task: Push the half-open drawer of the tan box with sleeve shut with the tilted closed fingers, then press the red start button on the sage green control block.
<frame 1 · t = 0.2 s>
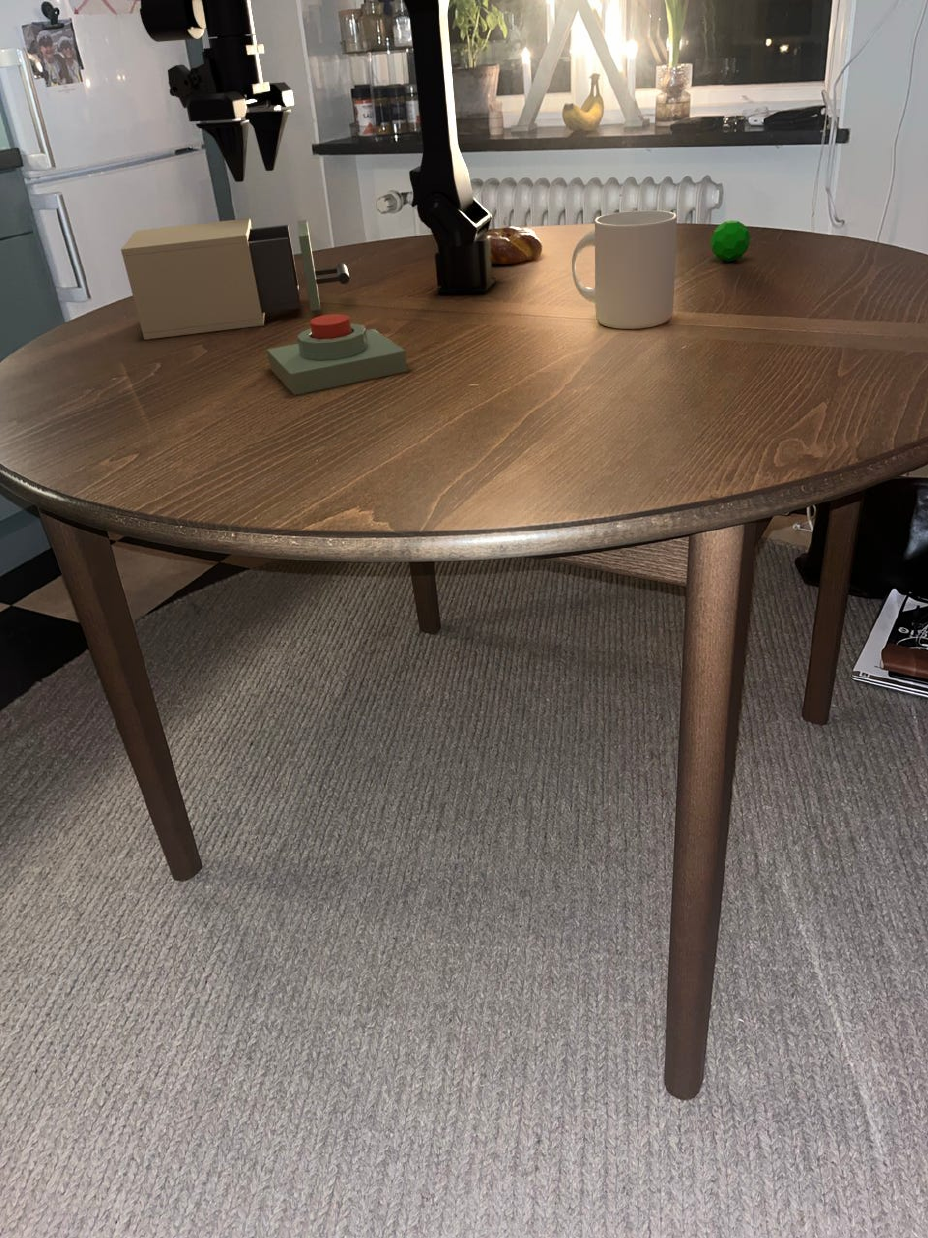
hand: (255, 175, 123), 15 cm above the table, tool pointing down, fingers open, 9 cm apart
drawer: (276, 268, 119), point 5 cm above the table, slide at 6.0 cm
mug: (620, 319, 107), on the table
control block: (337, 370, 98), on the table
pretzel: (505, 259, 139), on the table
tan box with sleeve: (208, 319, 121), on the table
button: (331, 327, 96), point 4 cm above the table, slide at 0.1 cm
polyhedron: (728, 261, 126), on the table
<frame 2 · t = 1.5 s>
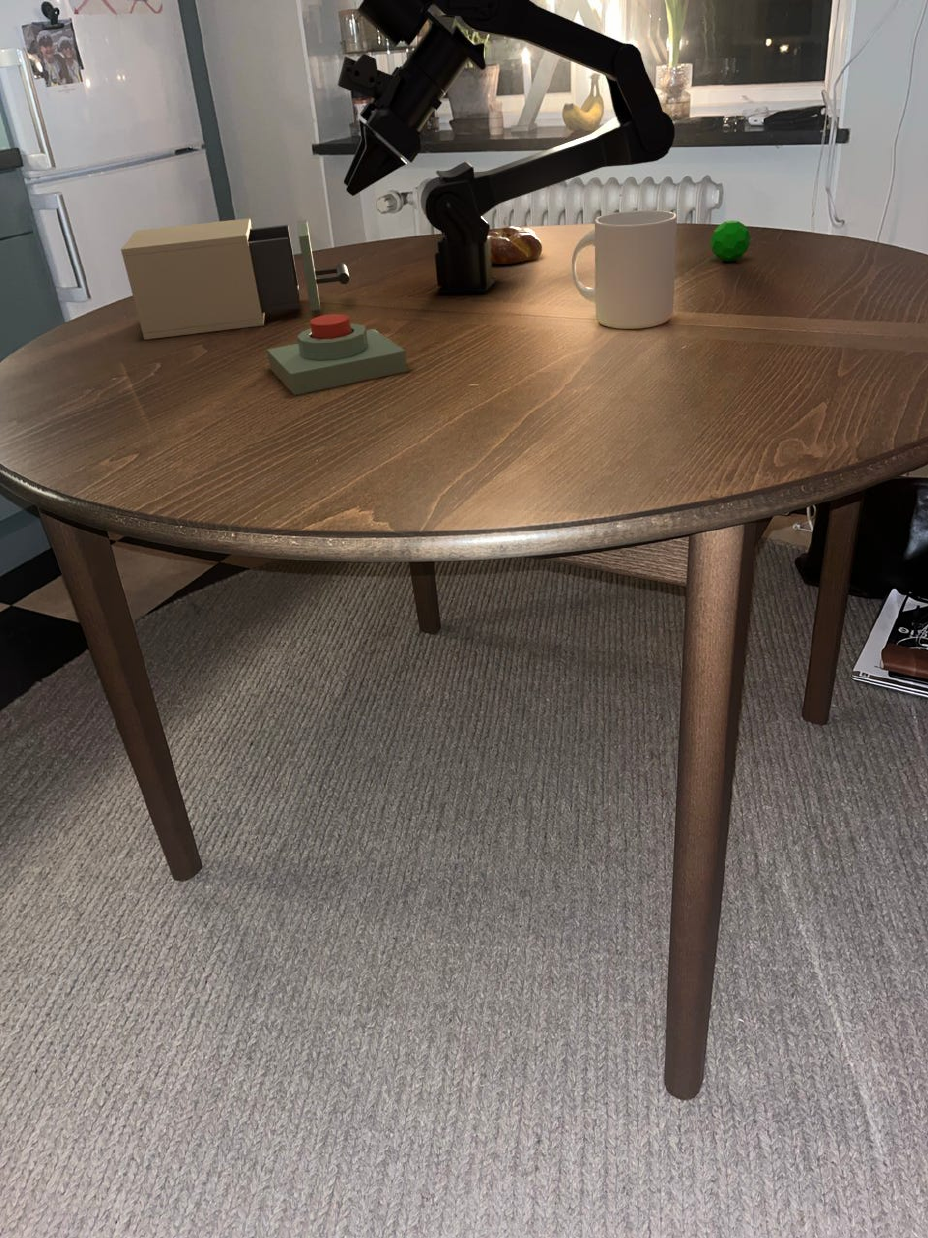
hand: (347, 188, 116), 13 cm above the table, tool tilted 45°, fingers open, 7 cm apart
nothing on the table moved.
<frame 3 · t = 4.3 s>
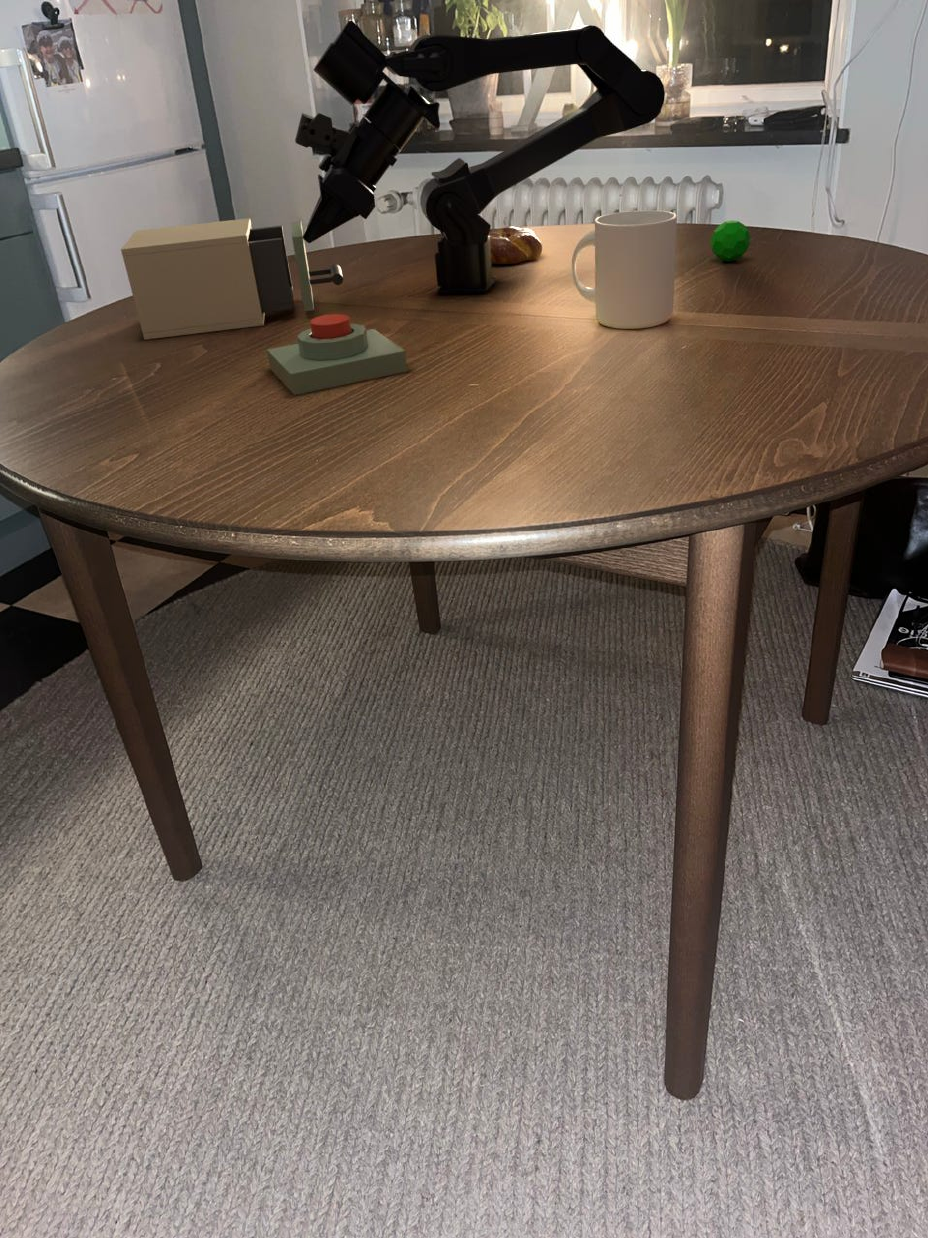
hand: (305, 240, 118), 8 cm above the table, tool tilted 45°, fingers closed, pressing on drawer
drawer: (270, 268, 119), point 5 cm above the table, slide at 5.2 cm, touching gripper
everything else where it was.
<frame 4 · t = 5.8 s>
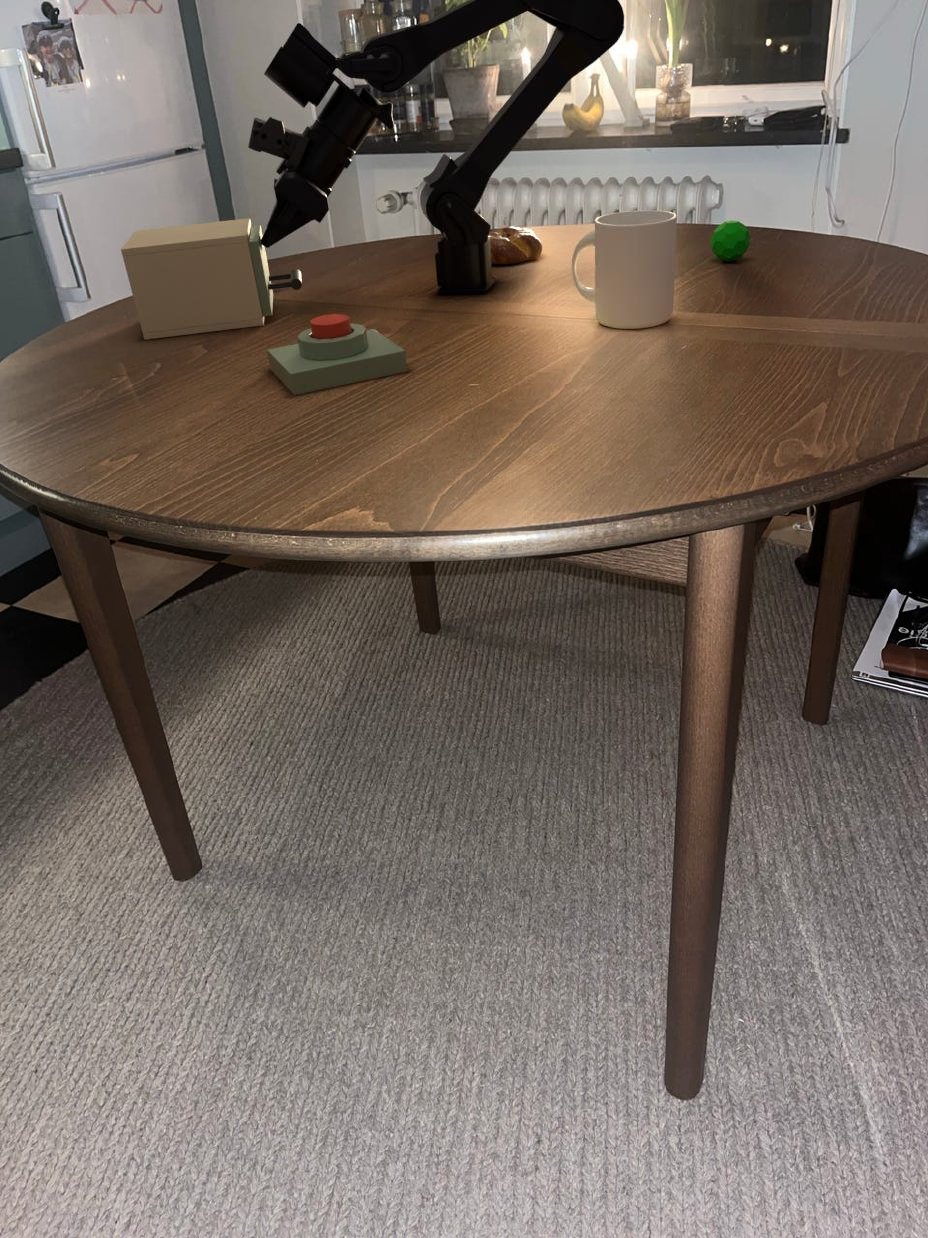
hand: (263, 245, 118), 8 cm above the table, tool tilted 45°, fingers closed, pressing on drawer
drawer: (229, 273, 119), point 5 cm above the table, slide at 0.0 cm, touching tan box with sleeve, gripper
everything else where it was.
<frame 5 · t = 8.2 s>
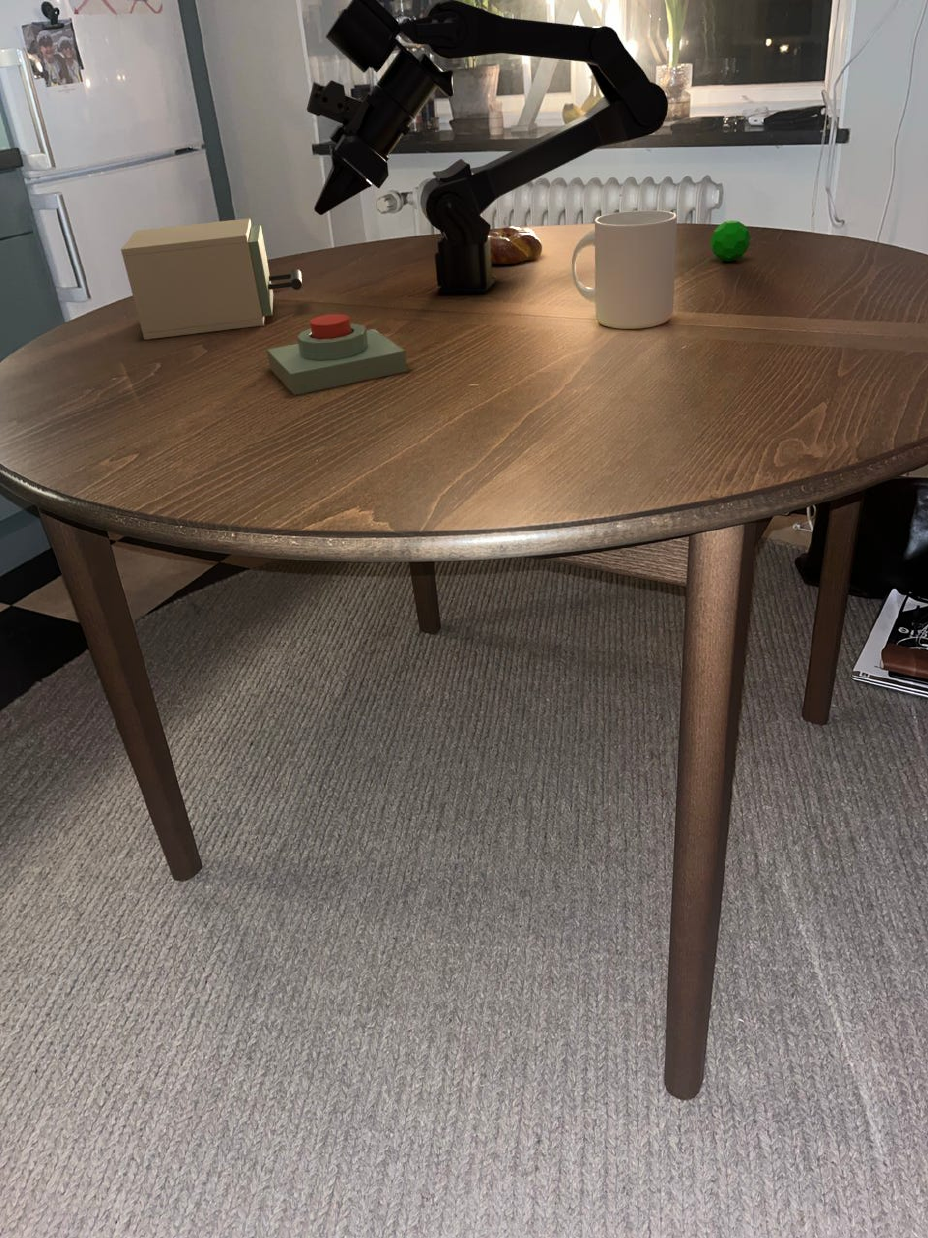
hand: (317, 212, 117), 11 cm above the table, tool tilted 45°, fingers closed
drawer: (229, 273, 119), point 5 cm above the table, slide at 0.0 cm, touching tan box with sleeve
everything else where it was.
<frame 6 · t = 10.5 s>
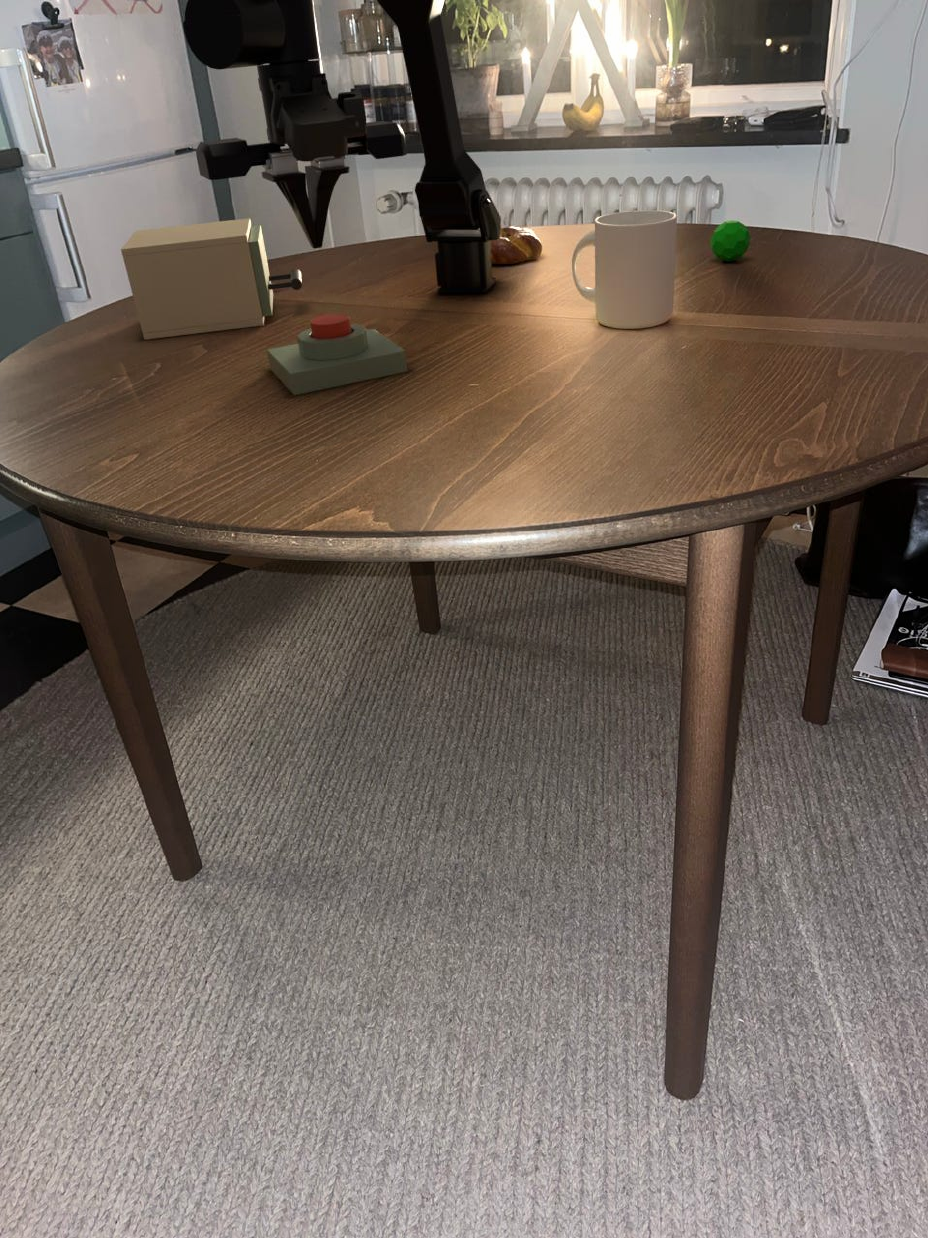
hand: (316, 247, 92), 12 cm above the table, tool pointing down, fingers closed
nothing on the table moved.
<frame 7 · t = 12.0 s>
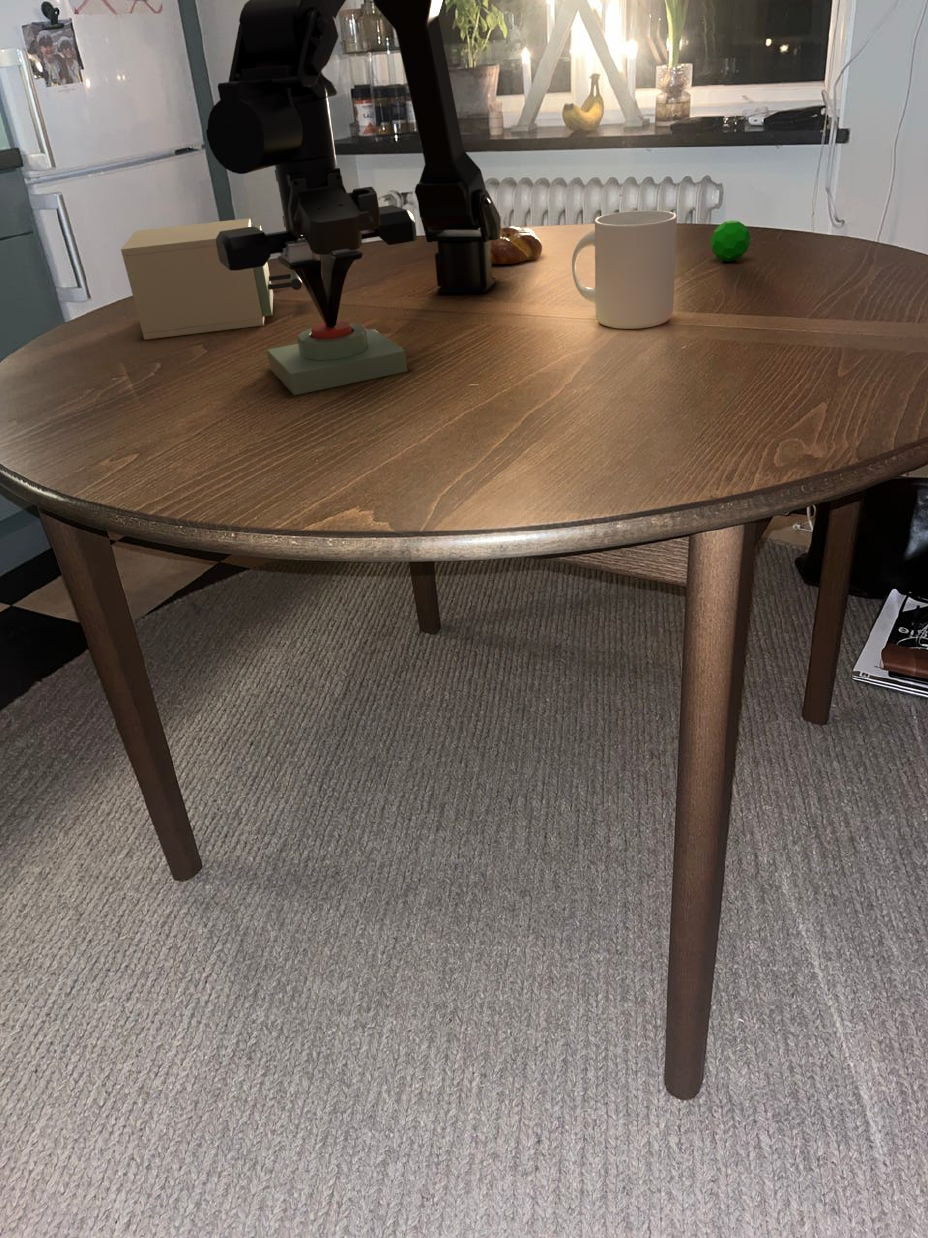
hand: (330, 326, 96), 5 cm above the table, tool pointing down, fingers closed, pressing on button
button: (332, 334, 96), point 4 cm above the table, slide at -0.6 cm, touching gripper
everything else where it was.
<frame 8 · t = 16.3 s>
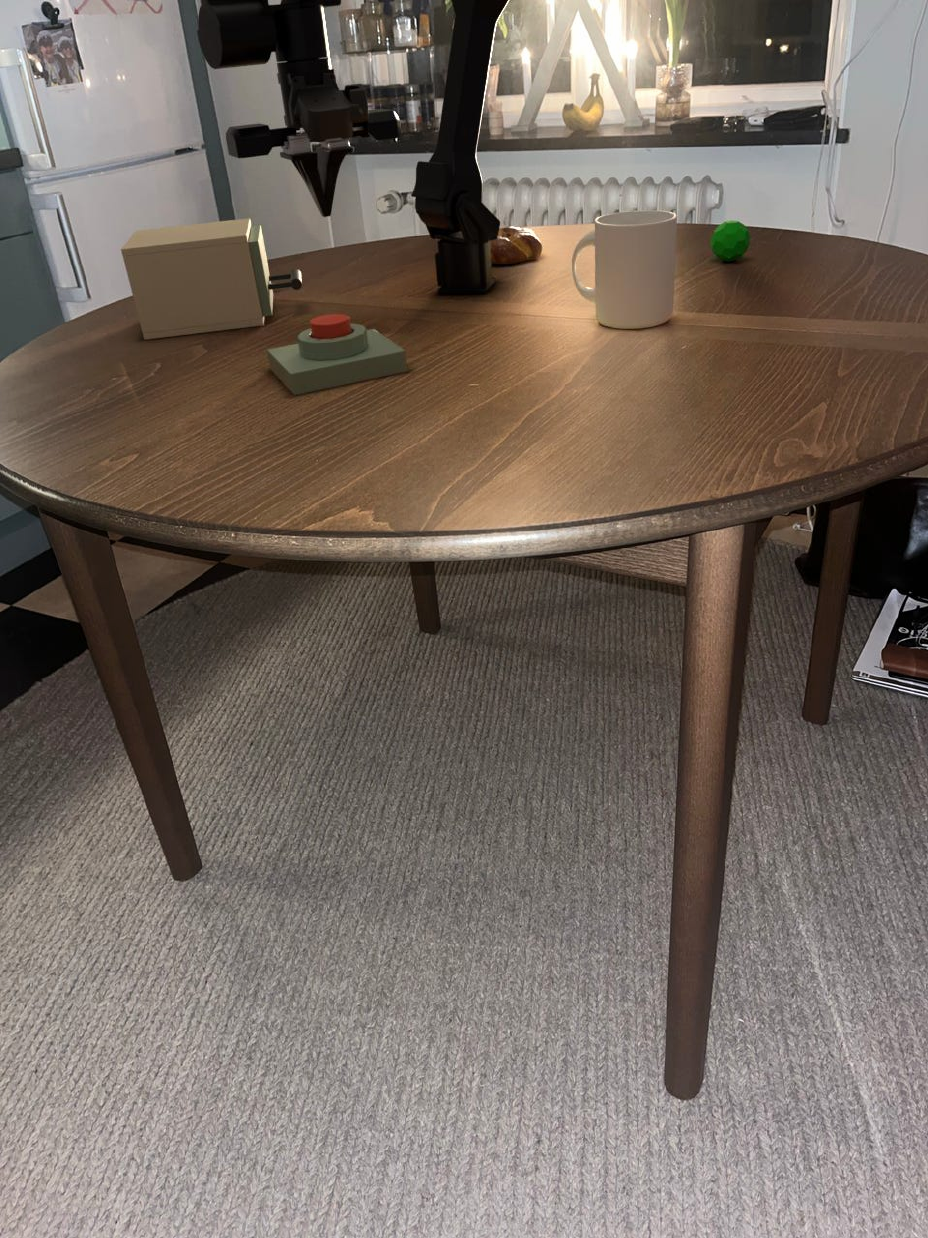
hand: (326, 216, 109), 12 cm above the table, tool pointing down, fingers closed
button: (331, 327, 96), point 4 cm above the table, slide at 0.1 cm
everything else where it was.
at the end: drawer slide at 0.0 cm; button pushed in 1.1 cm at the most during the clip, back to where it started at the end; button slide at 0.1 cm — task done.
